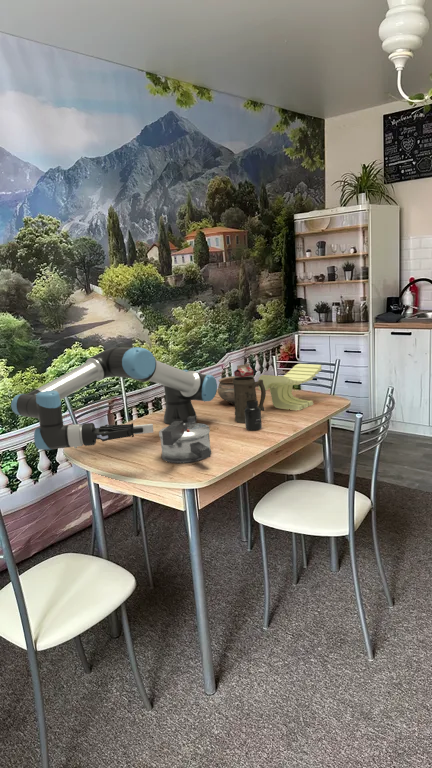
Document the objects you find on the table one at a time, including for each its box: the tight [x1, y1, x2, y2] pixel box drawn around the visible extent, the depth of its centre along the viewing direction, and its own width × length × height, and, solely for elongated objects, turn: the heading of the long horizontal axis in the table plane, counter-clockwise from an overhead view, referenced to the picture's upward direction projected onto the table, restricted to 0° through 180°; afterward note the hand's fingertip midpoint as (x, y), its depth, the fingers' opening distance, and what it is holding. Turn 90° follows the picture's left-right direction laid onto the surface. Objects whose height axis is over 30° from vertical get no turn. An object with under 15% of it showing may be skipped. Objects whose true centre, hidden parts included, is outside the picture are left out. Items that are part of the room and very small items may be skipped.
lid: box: [158, 415, 211, 445], centre depth 196 cm, size 30×19×6 cm, turn 165°
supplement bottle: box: [244, 399, 262, 432], centre depth 226 cm, size 7×7×12 cm
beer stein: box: [233, 377, 267, 424], centre depth 241 cm, size 15×10×20 cm
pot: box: [159, 433, 212, 464], centre depth 197 cm, size 31×18×8 cm, turn 26°
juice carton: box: [233, 363, 255, 379], centre depth 260 cm, size 7×7×22 cm
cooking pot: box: [217, 375, 235, 405], centre depth 276 cm, size 25×19×12 cm
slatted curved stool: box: [257, 363, 322, 411], centre depth 259 cm, size 30×16×18 cm, turn 138°
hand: (152, 428), depth 184 cm, fingers closed
